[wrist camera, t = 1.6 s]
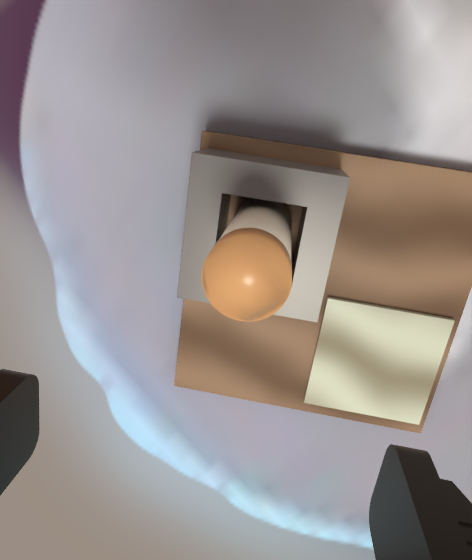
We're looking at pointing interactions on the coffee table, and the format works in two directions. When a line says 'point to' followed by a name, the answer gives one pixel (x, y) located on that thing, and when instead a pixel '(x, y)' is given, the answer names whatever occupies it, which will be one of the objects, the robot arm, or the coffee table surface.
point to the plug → (251, 262)
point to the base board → (351, 298)
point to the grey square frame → (272, 187)
